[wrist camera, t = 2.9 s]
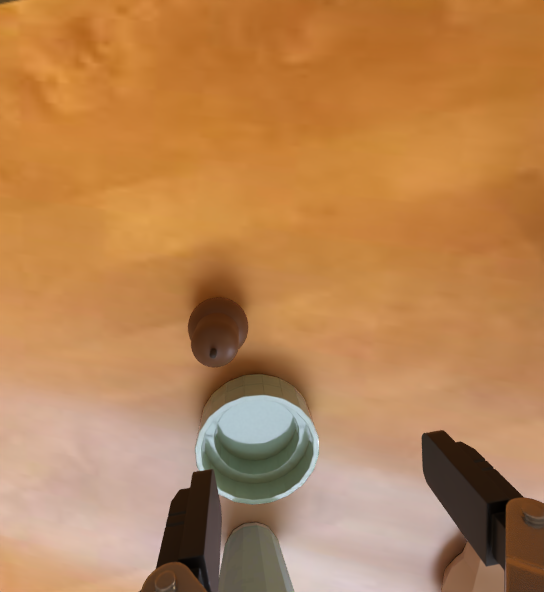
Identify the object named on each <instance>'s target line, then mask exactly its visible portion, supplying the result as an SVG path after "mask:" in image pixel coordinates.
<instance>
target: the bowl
mask: <svg viewBox="0 0 544 592" xmlns="http://www.w3.org/2000/svg"><path fill="white" fill-rule="evenodd" d="M195 454H196V463H197V467H198V469H199V471H203V470H209V469H214V473H215V478H216V483H217V489H218V494H219V495H221V496H223V497H226V498H228V499H230V500H232V501H234V502H239V503H246V504H262V503H271V502H273V501H276V500H279V499H281V498H284V497H286V496H288V495H290V494H291V493H293V492H294V491H295V490H297V489H298V488H299V487H301V486H302V485H303V484H304V483H305V481H306V480H307V478H308V477H309V476H310V474H311V473H312V472H313V470H314V467H315V464H316V461H317V458H318V455H319V437H318V434H317V431H316V428H315V425H314V423H313V420H312V417H311V414H310V411H309V409H308V406H307V404H306V401H305V399H304V397H303V396H302V395H301V394H300V393H299V392H298V391H297V389H296V388H295V387H294V386H293V385H291V384H289V383H287V382H286V381H284V380H282V379H280V378H278V377H273V376H269V375H264V374H255V375H244V376H241V377H239V378H236V379H234V380H231V381H229V382H227V383H225V384H224V385H223V386H221V387H220V388H219V389H218V390H216V391H215V392H214V393H213V394H212V396H211V397H210V399H209V400H208V402H207V403H206V405H205V406H204V409H203V413H202V417H201V421H200V425H199V430H198V436H197V441H196V446H195Z"/></svg>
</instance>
